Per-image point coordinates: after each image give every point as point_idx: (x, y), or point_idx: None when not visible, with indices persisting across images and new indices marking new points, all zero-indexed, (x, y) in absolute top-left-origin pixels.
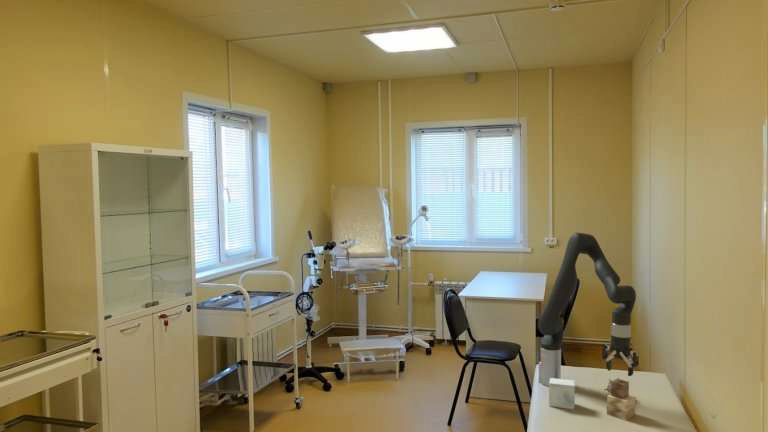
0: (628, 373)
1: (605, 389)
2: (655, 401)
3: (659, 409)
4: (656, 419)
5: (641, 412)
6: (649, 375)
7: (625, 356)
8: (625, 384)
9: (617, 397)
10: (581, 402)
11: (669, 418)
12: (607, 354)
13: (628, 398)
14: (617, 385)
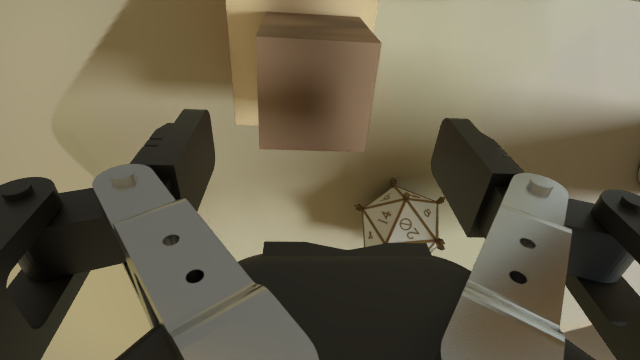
0: (192, 119)
1: (441, 199)
2: None
3: (211, 203)
4: (156, 101)
5: (243, 129)
6: None
7: (158, 314)
8: (258, 85)
9: (309, 14)
10: (519, 39)
11: (130, 150)
12: (586, 306)
13: (247, 58)
14: (313, 34)
